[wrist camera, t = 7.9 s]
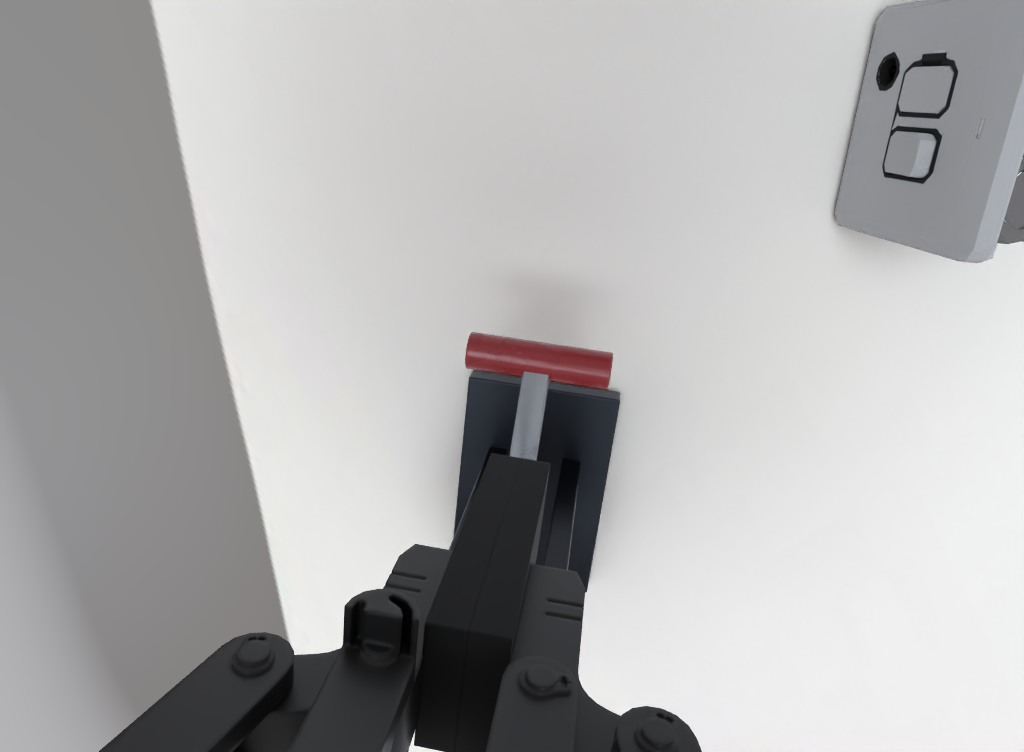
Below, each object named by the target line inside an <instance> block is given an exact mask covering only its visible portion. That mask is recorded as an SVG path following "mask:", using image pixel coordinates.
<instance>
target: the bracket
mask: <svg viewBox="0 0 1024 752" xmlns="http://www.w3.org/2000/svg"><path fill="white" fill-rule="evenodd" d="M521 382H522V378H520V377H514V376H507V375H501V374H494V373H488V372H481V371H475V370H474V371H473V372H472V374H471V376H470V377H469V384H468V394H467V404H466V415H465V425H464V435H463V445H462V456H461V466H460V476H459V486H458V497H457V507H456V517H455V528H454V538H453V541H452V543H451V546H450V548H449V550H451V551H453V549H454V547H455V544H456V542H457V539H458V537H459V534H460V531H461V529H462V526H463V524H464V521H465V519H466V516H467V514H468V511H469V508H470V506H471V503H472V501H473V498H474V496H475V493H476V490H477V488H478V485H479V483H480V480H481V478H482V475H483V473H484V470H485V467H486V465H487V462H488V460H489V457H490V455H491V453H494V454H500V455H506V456H510V450H511V444H512V438H513V431H514V425H515V419H516V413H517V407H518V401H519V395H520V388H521ZM619 404H620V393H618V392H611V391H605V390H598V389H592V388H585V387H579V386H572V385H566V384H559V383H553V382H549V387H548V394H547V400H546V406H545V413H544V419H543V425H542V432H541V438H540V444H539V451H538V457H537V461H542V462H548V463H551V464H550V471H549V477H548V484H547V491H546V498H545V505H544V511H543V518H542V525H541V532H540V539H539V545H538V552H537V558H536V563H535V564H537V565H543V566H548V567H554V568H559V569H565V570H570V571H576V572H577V573H578V575H579V577H580V579H581V581H582V583H583V585H584V587H585V592H587V588H588V582H589V576H590V571H591V565H592V559H593V554H594V548H595V542H596V536H597V531H598V525H599V519H600V513H601V508H602V502H603V496H604V490H605V485H606V479H607V473H608V467H609V462H610V456H611V450H612V444H613V439H614V433H615V427H616V421H617V416H618V410H619Z"/></svg>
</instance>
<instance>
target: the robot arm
mask: <svg viewBox="0 0 1024 752" xmlns="http://www.w3.org/2000/svg"><path fill="white" fill-rule="evenodd" d="M550 464H551V463H548V462H542V461H536V460H530V459H524V458H518V457H512V456H506V455H500V454H494V453H491V455H490V457H489V460H488V462H487V465H486V467H485V470H484V473H483V475H482V478H481V480H480V483H479V485H478V488H477V490H476V493H475V496H474V498H473V501H472V503H471V506H470V508H469V511H468V514H467V516H466V519H465V521H464V524H463V526H462V529H461V531H460V534H459V537H458V539H457V542H456V544H455V547H454V549H453V551H451V550H446V549H440V548H435V547H429V546H424V545H418V544H415V545H414V546H412V547H411V548H410V549H408V550H407V551H405V552H404V553H403V554H401V555H400V556H399V558H398V560H397V562H396V564H395V566H394V568H393V570H392V573H391V574H390V576H389V578H388V580H387V582H386V585H385V586H384V588H383V589H376V590H370V591H365V592H363V593H361V594H359V595H357V596H355V597H353V598H352V599H351V600H350V601H349V602H348V603H347V604H346V605H345V611H344V635H343V646H342V648H340V649H338V650H335V651H331V652H328V653H320V654H307V655H294V651H293V649H292V647H291V645H290V643H289V642H288V641H286V640H285V639H283V638H282V637H280V636H278V635H274V634H269V633H249V634H246V635H242V636H239V637H236V638H234V639H232V640H230V641H229V642H227V643H226V644H224V645H222V646H221V647H220V648H219V649H218V650H217V651H215V652H214V653H213V654H212V655H211V656H210V657H208V658H207V659H206V660H205V661H204V662H203V663H201V664H200V665H199V666H198V667H197V668H196V669H194V670H193V671H192V672H191V673H190V674H189V675H187V676H186V677H185V678H184V679H183V680H182V681H180V682H179V683H178V684H177V685H176V686H175V687H173V688H172V689H171V690H170V691H169V692H168V693H167V694H165V695H164V696H163V697H162V698H161V699H159V700H158V701H157V702H156V703H155V704H154V705H152V706H151V707H150V708H149V709H148V710H147V711H146V712H144V713H143V714H142V715H141V716H140V717H138V718H137V719H136V720H135V721H134V722H133V723H132V724H130V725H129V726H128V727H127V728H126V729H124V730H123V731H122V732H121V733H120V734H119V735H118V736H117V737H115V738H114V739H113V740H112V741H111V742H109V743H108V744H107V745H106V746H105V747H103V748H102V749H101V750H100V751H99V752H408V749H409V746H410V743H411V740H412V737H413V734H414V732H415V740H414V745H415V746H420V747H424V748H429V749H434V750H439V751H444V752H702V751H701V748H700V746H699V743H698V741H697V738H696V737H695V735H694V733H693V732H692V730H691V729H690V727H689V726H688V725H687V724H686V723H685V722H684V721H682V720H681V719H680V718H679V717H678V716H676V715H674V714H672V713H670V712H668V711H666V710H664V709H661V708H655V707H649V706H644V707H637V708H632V709H631V710H629V711H627V712H626V713H624V714H623V715H622V716H619V715H617V714H615V713H613V712H611V711H609V710H607V709H605V708H604V707H602V706H600V705H599V704H597V703H596V702H595V701H594V700H592V699H591V698H590V697H589V696H588V695H587V693H586V692H585V691H584V689H583V688H582V686H581V683H580V681H579V676H578V665H579V654H580V643H581V632H582V619H583V609H584V608H583V607H584V598H585V587H584V585H583V583H582V581H581V579H580V577H579V575H578V573H577V572H576V571H570V570H565V569H559V568H554V567H548V566H543V565H537V564H535V563H536V558H537V552H538V545H539V539H540V532H541V525H542V518H543V511H544V505H545V498H546V491H547V484H548V477H549V471H550Z"/></svg>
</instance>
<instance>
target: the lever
mask: <svg viewBox="0 0 1024 752" xmlns="http://www.w3.org/2000/svg"><path fill="white" fill-rule="evenodd" d="M612 360H613V353H610V352H603V351H596V350H589V349H583V348H576V347H569V346H563V345H556V344H549V343H542V342H536V341H529V340H522V339H515V338H509V337H502V336H495V335H489V334H482V333H475V332H472V333H471V334H470V336H469V339H468V343H467V349H466V357H465V365H466V368H467V369H473V370H480V371H486V372H493V373H499V374H506V375H512V376H519V377H522V382H521V388H520V395H519V401H518V407H517V413H516V419H515V425H514V431H513V438H512V444H511V450H510V456H512V457H518V458H524V459H530V460H536V461H537V457H538V451H539V444H540V438H541V432H542V425H543V419H544V413H545V406H546V400H547V394H548V387H549V381H551V382H558V383H564V384H571V385H577V386H584V387H590V388H597V389H603V390H607V389H608V386H609V380H610V374H611V368H612Z"/></svg>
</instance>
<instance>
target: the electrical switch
mask: <svg viewBox="0 0 1024 752" xmlns="http://www.w3.org/2000/svg"><path fill="white" fill-rule="evenodd" d="M1022 158H1023V159H1022ZM1020 172H1022V173H1021V174H1020V175H1019V176H1018V177H1017V175H1018V174H1019V173H1020ZM835 217H836V220H837V222H838V225H840V226H843V227H846V228H849V229H852V230H855V231H859V232H862V233H865V234H869V235H872V236H875V237H879V238H882V239H886V240H889V241H892V242H896V243H899V244H902V245H906V246H909V247H913V248H916V249H919V250H923V251H926V252H929V253H933V254H936V255H940V256H943V257H946V258H950V259H953V260H956V261H962V262H971V263H980V262H983V261H985V260H988V259H991V258H993V255H994V251H995V248H996V244H997V243H1003V244H1010V243H1014V242H1019V241H1024V0H923V1H917V2H911V3H905V4H899V5H893V6H887V7H886V8H885V10H884V11H883V12H882V14H881V15H880V16H879V18H878V19H877V22H876V25H875V30H874V34H873V39H872V44H871V48H870V53H869V57H868V62H867V67H866V71H865V76H864V80H863V85H862V90H861V94H860V99H859V103H858V108H857V113H856V117H855V122H854V126H853V131H852V136H851V140H850V145H849V149H848V154H847V159H846V163H845V168H844V172H843V177H842V182H841V186H840V191H839V195H838V200H837V205H836V209H835ZM1004 220H1005V221H1006V222H1005V221H1004Z"/></svg>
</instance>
